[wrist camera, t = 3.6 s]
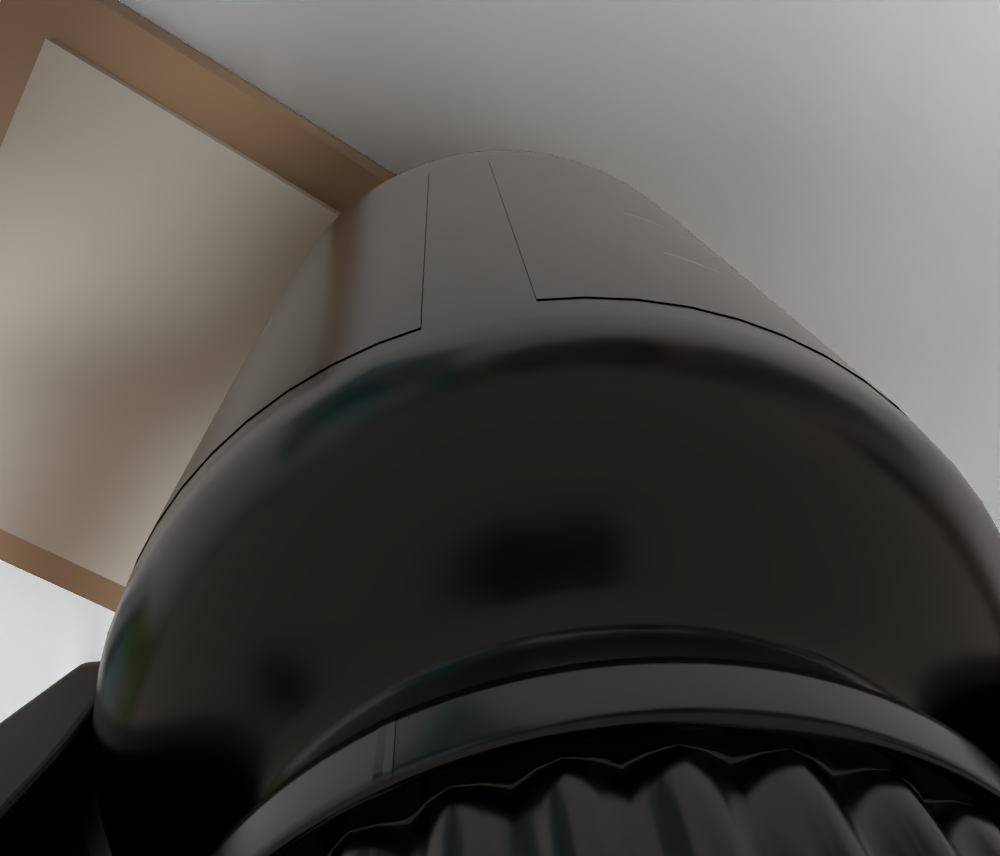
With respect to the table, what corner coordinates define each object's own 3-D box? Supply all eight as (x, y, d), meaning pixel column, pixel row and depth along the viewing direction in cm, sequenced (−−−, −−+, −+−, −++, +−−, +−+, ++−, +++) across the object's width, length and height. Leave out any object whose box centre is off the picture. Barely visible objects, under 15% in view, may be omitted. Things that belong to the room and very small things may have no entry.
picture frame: (575, 288, 20) (583, 307, 19) (315, 669, 24) (307, 708, 23) (47, -44, 17) (11, -49, 16) (-152, 451, 21) (-194, 481, 20)
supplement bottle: (486, 627, 16) (559, 1888, 5) (184, 357, 14) (-774, 1597, 3) (810, 380, 15) (1872, 1471, 4) (527, 28, 12) (1128, 150, 1)
